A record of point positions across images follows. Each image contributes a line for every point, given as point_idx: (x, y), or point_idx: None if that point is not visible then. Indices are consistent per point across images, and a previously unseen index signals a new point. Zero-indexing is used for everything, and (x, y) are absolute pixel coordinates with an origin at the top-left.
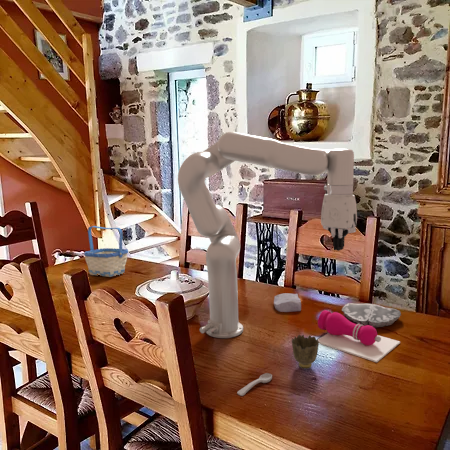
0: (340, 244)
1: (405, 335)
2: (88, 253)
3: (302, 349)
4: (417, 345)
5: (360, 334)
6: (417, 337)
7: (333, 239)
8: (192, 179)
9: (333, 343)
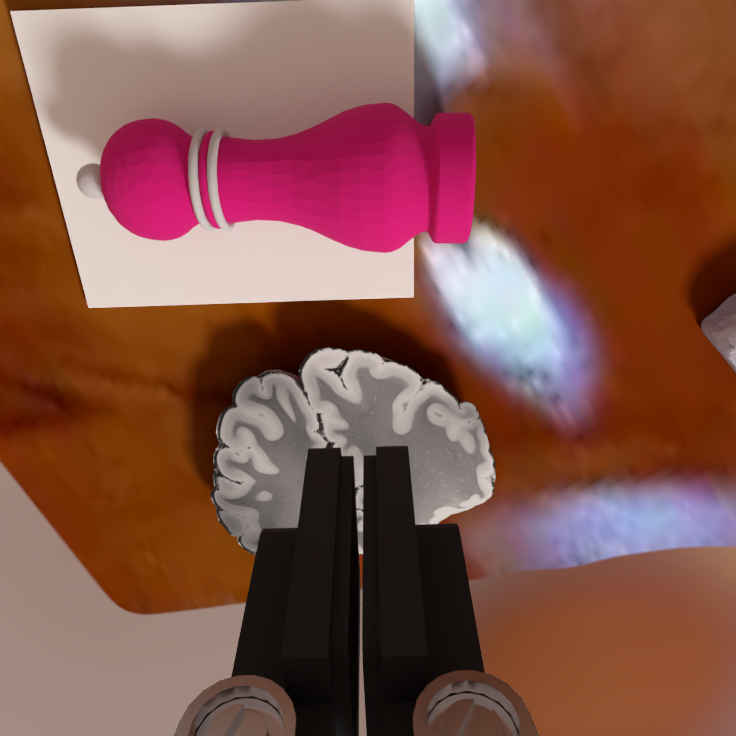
0: (283, 567)
1: (128, 391)
2: None
3: None
4: (26, 333)
5: (164, 129)
6: (80, 405)
7: (468, 636)
8: None
9: (312, 42)
